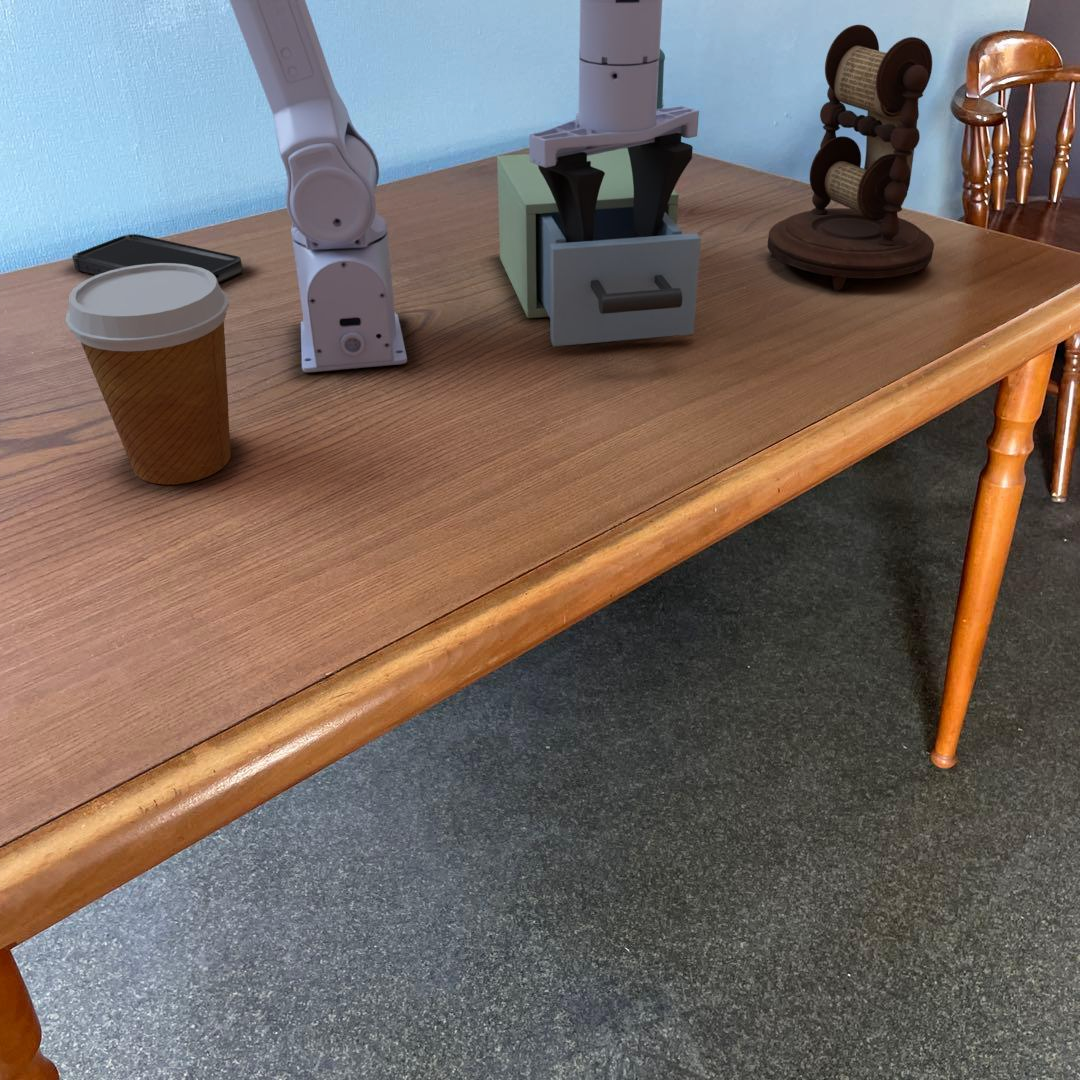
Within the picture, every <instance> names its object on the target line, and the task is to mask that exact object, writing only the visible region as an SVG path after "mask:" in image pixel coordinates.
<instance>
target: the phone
mask: <svg viewBox="0 0 1080 1080" xmlns="http://www.w3.org/2000/svg"><path fill="white" fill-rule="evenodd" d="M71 257H72V262H73V266H74V269H75V270H76V271H79V272H82V273H87V274H91V275H94V276H95V275H98V274H101V273H104V272H108V271H111V270H115V269H119V268H124V267H129V266H134V265H143V264H156V263H176V264H186V265H191V266H196V267H200V268H203V269H206V270H208V271H210V272H211V273H212V274H214V276H215V277H216V279H217V281H218V283H219V284H220V283H222V282H224V281H226V280H228V279H231V278H233V277H235V276H238V275H239V274H241V273H242V272H243V271H244V270H243V265H242V264H243V263H242V259H241V257H240V256H238V255H233V254H228V253H226V252H225V253H224V252H220V251H214V250H211V249H207V248H202V247H198V246H192V245H189V244H188V245H187V244H184V243H180V242H175V241H170V240H165V239H161V238H157V237H152V236H147V235H143V234H139V233H138V234H137V233H133V234H132V233H131V234H130V233H129V234H124V235H122V236H119V237H116V238H113V239H111V240H107V241H105V242H102V243H100V244H97V245H95V246H92V247H89V248H87V249H84V250H82V251H79V252H77V253H74V254H73V255H72V256H71Z"/></svg>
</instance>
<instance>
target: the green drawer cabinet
mask: <svg viewBox="0 0 1080 1080" xmlns="http://www.w3.org/2000/svg"><path fill="white" fill-rule="evenodd" d="M587 161H591V167H594V168H596V169H599V170H602V171H603V172H604V173H605V175H604V177H603V180H602V183H601V186H600V190H599V194H598V198H597V203H596V209H595V210H597V209H612V208H626V207H633V205H634V187H633V176H632V168H631V162H630V157H629V152H628V148H623V149H618V150H613V151H608V152H603V153H599V154H594V155H589V156H587ZM496 164H497V165H496V166H497V167H496V169H497V171H496V172H497V199H498V201H497V203H498V234H499V259H500V262H501V264H502V265H503V268H504V270H505V273H506V274H507V276H508V278H509V281H510V283H511V284H512V288H513V289H514V291H515V294H516V296H517V298H518V301H519V303H520V305H521V307H522V309H523V311H524V313H525V315H526V317H527V319H539V318H550V317H549V315H548V313H547V311H546V309H545V307H544V305H543V303H542V301H541V299H540V297H539V295H538V293H537V291H536V214H540V213H554V212H559V210H558V207H557V205H556V202H555V200H554V197H553V195H552V193H551V190H550V188H549V186H548V184H547V182H546V181H545V179H544V177H543V175H542V174H541V172H540V170H539V167H538V165H537V164H534V163H532V162H530V156H529V153H524V154H522V153H521V154H506V155H497V156H496ZM679 199H680V198H679V193H678V192H677V191H676V190H675V189H674V190H673V192H672V194H671V197H670V199H669V202H668V205H667V208H666V211H665V213H666V214H667V215H668V216H669V217H670V218H671V219H672V220H673V221H674V223H675V224H676V225H677V226H678V213H679V211H678V210H679Z"/></svg>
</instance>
